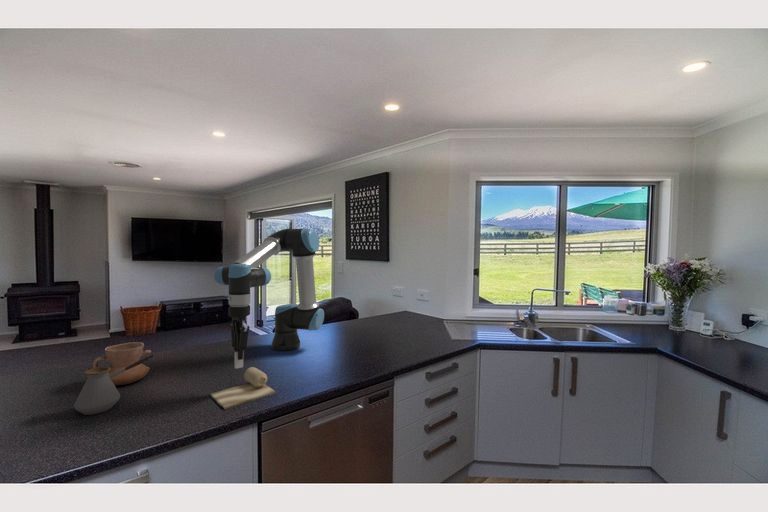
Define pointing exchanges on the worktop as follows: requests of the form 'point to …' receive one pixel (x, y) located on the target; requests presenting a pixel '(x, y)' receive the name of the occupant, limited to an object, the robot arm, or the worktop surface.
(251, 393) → the birch board
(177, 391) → the worktop surface
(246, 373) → the candle
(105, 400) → the coffee pot
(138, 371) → the stacked tan cups
